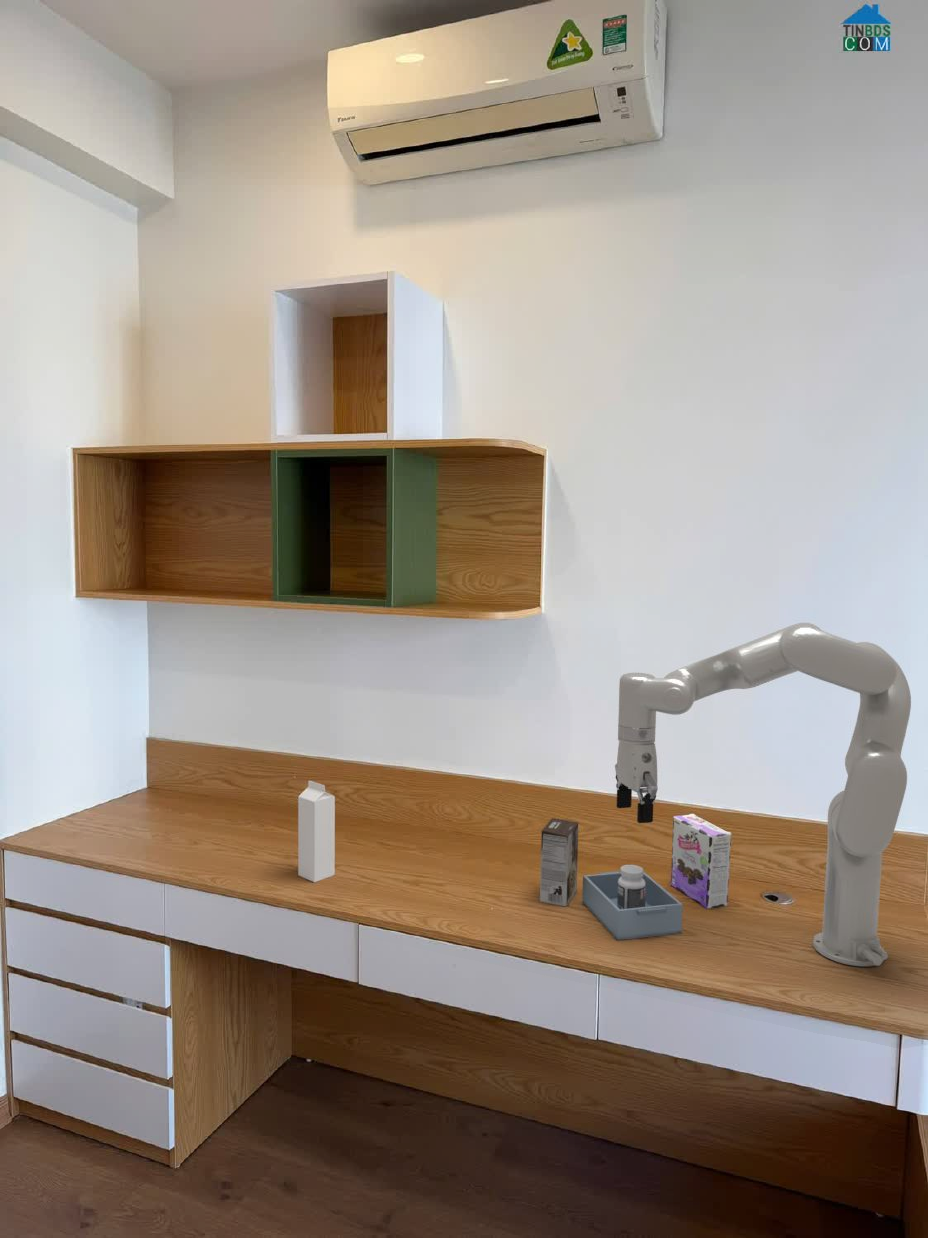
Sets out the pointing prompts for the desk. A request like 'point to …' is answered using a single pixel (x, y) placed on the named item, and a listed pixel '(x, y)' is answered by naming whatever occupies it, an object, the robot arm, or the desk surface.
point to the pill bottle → (631, 887)
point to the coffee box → (559, 862)
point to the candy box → (700, 860)
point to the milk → (316, 833)
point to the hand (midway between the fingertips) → (634, 814)
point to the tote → (634, 922)
